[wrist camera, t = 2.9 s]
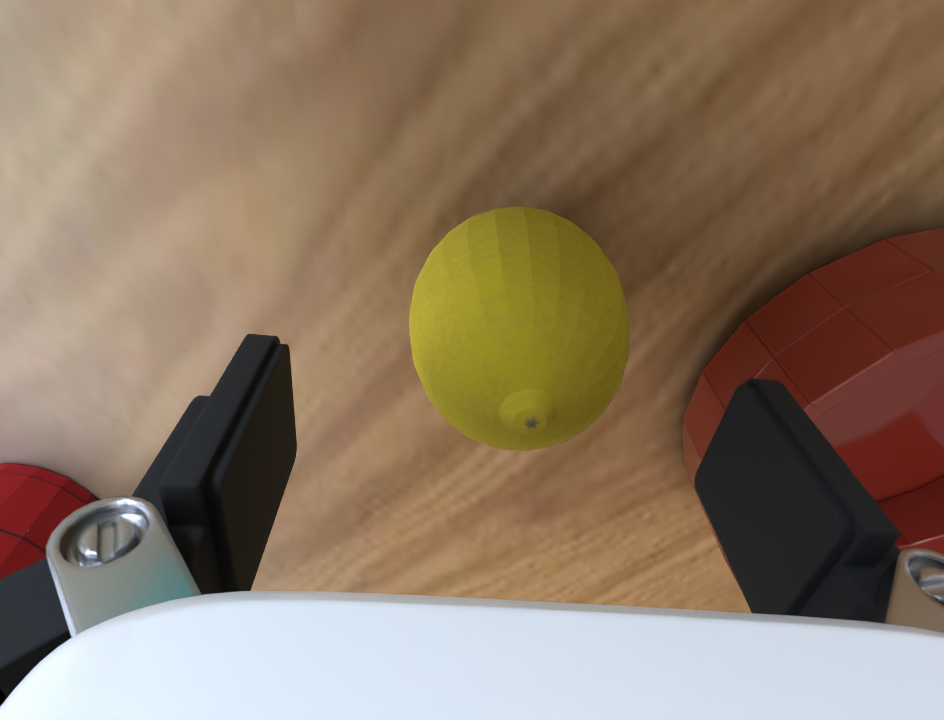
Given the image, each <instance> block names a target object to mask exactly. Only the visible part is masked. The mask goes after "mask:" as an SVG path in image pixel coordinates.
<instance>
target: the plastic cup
mask: <svg viewBox="0 0 944 720" xmlns="http://www.w3.org/2000/svg"><path fill="white" fill-rule="evenodd" d="M95 501H97V500H96V499H95V498H94V496H93V495H92V494H91V493H90V492H88V491H87V490H85V489H84V488H82V487H81V486H79V485H78V484H76V483H75V482H73V481H72V480H70V479H69V478H67V477H64V476H61V475H59V474H56V473H54V472H51V471H48V470H46V469H43V468H40V467H34V466H27V465H20V464H13V463H8V464H1V465H0V579H2V578H4V577H6V576H8V575H10V574H12V573H14V572H16V571H19V570H21V569H23V568H25V567H27V566H29V565H31V564H33V563H35V562H37V561H39V560H42V559H44V558H46V557H47V555H46V545H47V543H48V541H49V538H50V536H51V533H52V532H53V531H54V530H55V529H56V527H57V526H58V525H59V524H60V523H61V521H62V520H64V519H65V518H66V517H68V516H69V515H70V514H72V513H73V512H74V511H76V510H78V509H80V508H82V507H84V506H86V505H88V504H90V503H92V502H95Z"/></svg>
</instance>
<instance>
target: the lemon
mask: <svg viewBox="0 0 944 720" xmlns="http://www.w3.org/2000/svg"><path fill="white" fill-rule="evenodd" d="M409 332H410V340H411V349H412V356H413V361H414V364H415V368H416V371H417V373H418V375H419V378H420V380H421V383H422V385H423V387H424V390H425V392H426V394H427V397H428V398H429V400H430V401H431V403H432V404H433V405H434V407H435V408H436V409H437V410H438V411H439V413H440V414H441V415H442V416H443V418H444V419H445V420H446V421H447V422H449V423H450V424H451V425H452V426H454V427H455V428H456V429H458V430H459V431H460V432H462V433H463V434H464V435H466V436H467V437H470V438H472V439H474V440H476V441H479V442H481V443H483V444H486V445H488V446H492V447H497V448H502V449H506V450H534V449H540V448H547V447H550V446H553V445H556V444H558V443H561V442H564V441H567V440H568V439H570V438H572V437H573V436H575V435H577V434H578V433H580V432H581V431H583V430H585V429H586V428H588V427H589V426H590V425H591V424H592V423H593V422H594V421H595V420H596V419H597V418H598V417H599V416H600V415H601V414H603V412H604V411H605V409H606V408H607V406H608V405H609V403H610V402H611V400H612V399H613V397H614V396H615V394H616V392H617V391H618V389H619V386H620V384H621V380H622V377H623V374H624V370H625V367H626V364H627V360H628V353H629V314H628V308H627V303H626V300H625V296H624V293H623V290H622V287H621V284H620V281H619V278H618V275H617V272H616V270H615V269H614V267H613V265H612V264H611V262H610V261H609V259H608V258H607V257H606V255H605V254H604V252H603V251H602V250H601V248H600V247H599V245H598V244H597V243H596V242H595V240H593V239H592V238H591V237H590V236H589V235H587V234H586V233H585V232H584V231H582V230H581V229H580V228H579V227H577V226H576V225H575V224H574V223H572V222H571V221H569V220H567V219H565V218H562V217H560V216H558V215H556V214H553V213H551V212H549V211H546V210H543V209H536V208H529V207H523V206H516V207H506V208H495V209H492V210H489V211H486V212H484V213H481V214H478V215H475V216H472V217H470V218H469V219H467V220H466V221H464V222H463V223H461V224H460V225H458V226H457V227H455V228H454V229H452V230H451V231H450V232H449V233H448V234H447V235H446V236H445V237H444V238H443V239H442V240H441V241H440V242H439V244H438V245H437V246H436V247H435V248H434V249H433V250H432V251H431V253H430V255H429V256H428V258H427V260H426V262H425V264H424V266H423V268H422V270H421V272H420V274H419V276H418V278H417V280H416V283H415V286H414V291H413V296H412V302H411V308H410V313H409Z"/></svg>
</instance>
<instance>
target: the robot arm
mask: <svg viewBox="0 0 944 720" xmlns="http://www.w3.org/2000/svg"><path fill="white" fill-rule="evenodd" d="M296 450H297V441H296V428H295V415H294V402H293V389H292V376H291V363H290V351H289V346H288V345H287V344H280V340H279V338H278V337H277V336H268V335H256V334H247V335H246V337H245V338H244V340H243V342H242V343H241V345H240V347H239V348H238V350H237V352H236V353H235V355H234V357H233V358H232V360H231V362H230V363H229V365H228V367H227V368H226V370H225V372H224V373H223V375H222V377H221V378H220V380H219V382H218V383H217V385H216V387H215V388H214V390H213V392H212V393H211V395H210V396H200V395H199V396H197V397H195V398H194V399H193V401H192V402H191V403H190V405H189V406H188V408H187V409H186V411H185V413H184V414H183V416H182V417H181V419H180V420H179V422H178V424H177V425H176V427H175V428H174V430H173V432H172V433H171V435H170V436H169V438H168V439H167V441H166V443H165V444H164V446H163V447H162V449H161V451H160V452H159V454H158V455H157V457H156V458H155V460H154V462H153V463H152V465H151V466H150V468H149V470H148V471H147V473H146V474H145V476H144V477H143V479H142V481H141V482H140V484H139V485H138V487H137V489H136V490H135V492H134V493H133V495H132V496H118V497H109V498H105V499H102V500H98V501H95V502H92V503H90V504H88V505H86V506H84V507H82V508H80V509H78V510H76V511H74V512H73V513H72V514H70V515H69V516H68V517H66V518H65V519H64V520H62V521H61V523H60V524H59V525H58V526H57V527H56V529H55V530H54V531H53V532H52V533H51V536H50V538H49V541H48V543H47V545H46V555H47V557H46V558H44V559H42V560H39V561H37V562H35V563H33V564H31V565H29V566H27V567H25V568H23V569H21V570H19V571H16V572H14V573H12V574H10V575H8V576H6V577H4V578H2V579H0V720H944V554H942V553H939V552H937V551H934V550H930V549H926V548H922V547H909V548H907V549H905V550H903V551H900V549H899V548H898V547H897V546H896V544H895V542H896V540H897V539H898V538H899V537H900V535H901V533H900V531H899V530H898V529H897V528H896V526H895V525H894V524H893V523H892V521H891V520H890V519H889V518H888V516H887V515H886V514H885V513H884V511H883V510H882V509H881V507H880V506H879V505H878V504H877V502H876V501H875V500H874V499H873V497H872V496H871V495H870V494H869V492H868V491H867V490H866V488H865V487H864V486H863V485H862V483H861V482H860V481H859V480H858V478H857V477H856V476H855V475H854V473H853V472H852V471H851V470H850V468H849V467H848V466H847V464H846V463H845V462H844V461H843V459H842V458H841V457H840V456H839V454H838V453H837V452H836V451H835V449H834V448H833V447H832V445H831V444H830V443H829V442H828V440H827V439H826V438H825V437H824V435H823V434H822V433H821V432H820V430H819V429H818V428H817V426H816V425H815V424H814V423H813V421H812V420H811V419H810V418H809V416H808V415H807V414H806V413H805V411H804V410H803V409H802V408H801V406H800V405H799V404H798V402H797V401H796V400H795V399H794V397H793V396H792V395H791V394H790V392H789V391H788V390H787V389H786V387H785V386H784V385H783V384H782V383H781V382H780V381H777V380H768V379H756V378H751V379H748V380H747V381H746V382H745V383H744V384H740V385H739V386H737V388H736V389H735V391H734V393H733V396H732V398H731V400H730V402H729V404H728V406H727V408H726V410H725V412H724V415H723V417H722V419H721V421H720V423H719V425H718V427H717V429H716V432H715V434H714V436H713V438H712V440H711V442H710V444H709V446H708V448H707V451H706V453H705V455H704V457H703V459H702V461H701V463H700V465H699V467H698V470H697V472H696V474H695V479H694V484H695V489H696V492H697V494H698V496H699V498H700V501H701V503H702V505H703V507H704V509H705V511H706V514H707V516H708V518H709V520H710V522H711V525H712V527H713V529H714V531H715V533H716V536H717V538H718V540H719V542H720V544H721V546H722V549H723V551H724V553H725V555H726V557H727V560H728V562H729V564H730V566H731V568H732V570H733V573H734V575H735V577H736V579H737V581H738V584H739V586H740V588H741V590H742V592H743V594H744V597H745V599H746V601H747V603H748V605H749V608H750V610H751V612H752V613H740V612H723V611H706V610H689V609H673V608H655V607H636V606H618V605H600V604H581V603H562V602H543V601H524V600H505V599H484V598H463V597H442V596H421V595H401V594H380V593H350V592H318V591H250V590H251V587H252V585H253V582H254V579H255V576H256V573H257V570H258V567H259V564H260V561H261V558H262V555H263V552H264V549H265V546H266V544H267V541H268V538H269V535H270V532H271V529H272V526H273V523H274V520H275V517H276V514H277V511H278V508H279V505H280V503H281V500H282V497H283V494H284V491H285V488H286V485H287V482H288V479H289V476H290V473H291V470H292V467H293V465H294V461H295V457H296Z"/></svg>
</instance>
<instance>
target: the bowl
mask: <svg viewBox="0 0 944 720" xmlns="http://www.w3.org/2000/svg"><path fill="white" fill-rule="evenodd" d="M751 378H756V379H768V380H777V381H780V382H781V383H782V384H783V385H784V386H785V387H786V389H787V390H788V391H789V392H790V394H791V395H792V396H793V397H794V399H795V400H796V401H797V402H798V404H799V405H800V406H801V408H802V409H803V410H804V411H805V413H806V414H807V415H808V416H809V418H810V419H811V420H812V421H813V423H814V424H815V425H816V426H817V428H818V429H819V430H820V432H821V433H822V434H823V435H824V437H825V438H826V439H827V440H828V442H829V443H830V444H831V445H832V447H833V448H834V449H835V451H836V452H837V453H838V454H839V456H840V457H841V458H842V459H843V461H844V462H845V463H846V464H847V466H848V467H849V468H850V470H851V471H852V472H853V473H854V475H855V476H856V477H857V478H858V480H859V481H860V482H861V483H862V485H863V486H864V487H865V488H866V490H867V491H868V492H869V494H870V495H871V496H872V497H873V499H874V500H875V501H876V502H877V504H878V505H879V506H880V507H881V509H882V510H883V511H884V513H885V514H886V515H887V516H888V518H889V519H890V520H891V521H892V523H893V524H894V525H895V526H896V528H897V529H898V530H899V531H900V533H901V535H900V537H899V538H898V539H897V540H896V542H895V544H896V546H897V547H898V548H899V549H900V551H903V550H905V549H907V548H909V547H922V548H926V549H930V550H934V551H937V552H939V553H942V554H944V227H943V228H938V229H933V230H928V231H922V232H917V233H912V234H907V235H901V236H896V237H891V238H886V239H885V240H881V241H879V242H877V243H874V244H872V245H870V246H868V247H865V248H863V249H861V250H859V251H856V252H854V253H852V254H850V255H847V256H845V257H843V258H841V259H838V260H836V261H834V262H832V263H829V264H827V265H825V266H823V267H820V268H818V269H816V270H814V271H812V272H810V273H809V274H806V275H804V276H803V277H801V278H800V279H799V280H797V281H796V282H795V283H793V284H792V285H791V286H789V287H788V288H787V289H785V290H784V291H783V292H781V293H780V294H779V295H777V296H776V297H775V298H773V299H772V300H771V301H769V302H768V303H766V304H765V305H764V306H762V307H761V308H760V309H758V310H757V311H756V312H754V313H753V314H752V315H750V316H749V317H748V318H746V321H743V322H742V324H741V325H740V326H739V327H738V328H737V330H736V331H735V332H734V333H733V335H732V336H731V337H730V338H729V339H728V341H727V342H726V343H725V344H724V345H723V347H722V348H721V349H720V350H719V352H718V353H717V354H716V355H715V356H714V358H713V359H712V360H711V361H710V362H709V364H708V365H707V366H706V367H705V368H704V370H703V371H702V373H701V376H700V378H699V381H698V383H697V386H696V388H695V391H694V393H693V395H692V398H691V400H690V403H689V405H688V408H687V410H686V413H685V415H684V418H683V464H684V466H685V469H686V471H687V473H688V476H689V478H690V480H691V483H692V485H693V487H694V489H695V484H694V479H695V474H696V472H697V470H698V467H699V465H700V463H701V461H702V459H703V457H704V455H705V453H706V451H707V448H708V446H709V444H710V442H711V440H712V438H713V436H714V434H715V432H716V429H717V427H718V425H719V423H720V421H721V419H722V417H723V415H724V412H725V410H726V408H727V406H728V404H729V402H730V400H731V398H732V396H733V393H734V391H735V389H736V388H737V386H739V385H740V384H744V383H745V382H746V381H747V380H748V379H751ZM695 492H696V489H695ZM696 494H697V492H696ZM697 496H698V494H697ZM698 499H699V501H700V498H699V496H698ZM700 503H701V501H700ZM701 506H702V508H703V510H704V513H705V515H706V517H707V520H708V522H709V524H710V527H711V529H712V531H713V534H714V536H715V538H716V541H717V543H718V545H719V548H720V550H721V552H722V555H723V557H724V559H725V561H726V563H727V564H728V566H729V568H730V570H731V572H732V574H733V576H734V578H735V579H736V577H735V575H734V573H733V570H732V568H731V566H730V564H729V562H728V560H727V557H726V555H725V553H724V551H723V549H722V546H721V544H720V542H719V540H718V538H717V536H716V533H715V531H714V529H713V527H712V525H711V522H710V520H709V518H708V516H707V514H706V511H705V509H704V507H703V505H702V503H701ZM736 581H737V579H736ZM737 583H738V581H737ZM738 585H739V584H738ZM739 587H740V586H739ZM740 589H741V588H740Z"/></svg>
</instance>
